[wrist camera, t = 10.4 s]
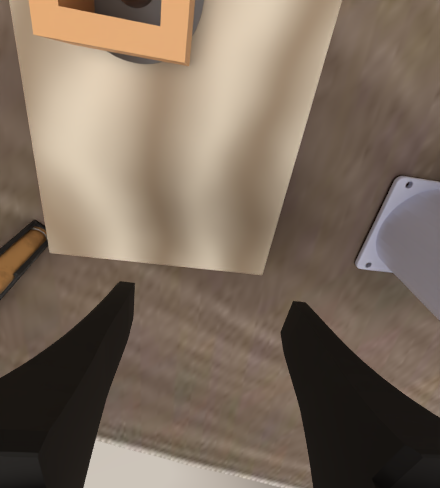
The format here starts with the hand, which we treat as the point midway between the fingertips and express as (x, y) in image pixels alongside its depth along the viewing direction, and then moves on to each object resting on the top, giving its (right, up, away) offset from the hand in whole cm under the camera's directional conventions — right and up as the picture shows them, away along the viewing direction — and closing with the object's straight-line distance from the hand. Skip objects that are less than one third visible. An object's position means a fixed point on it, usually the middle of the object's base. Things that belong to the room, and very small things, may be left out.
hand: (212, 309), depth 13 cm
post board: (-3, +12, +5) cm, 13 cm away
